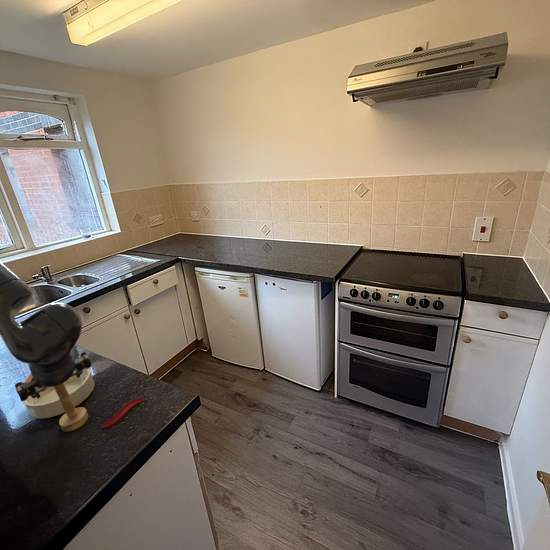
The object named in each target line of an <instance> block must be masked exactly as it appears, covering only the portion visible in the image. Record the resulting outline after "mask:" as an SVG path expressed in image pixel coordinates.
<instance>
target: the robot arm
mask: <svg viewBox="0 0 550 550" xmlns="http://www.w3.org/2000/svg"><path fill="white" fill-rule="evenodd" d="M33 297H34V291H33V290H32V288H31V287H30V286H29V285H28V284H27V283H26V282H25V281H23V280H22V279H21V278H20V277H19V276H17V275H16V274H15V273H14V272H13V271H12V270H10V269H9V268H8V267H7V266H6V265H4V263H2V262H1V261H0V337H1V338H2V341H3V342H4V344H5V346H6V348H7V350H8V351H9V352H10V354H11V355H12V357H14V358H15V359H16V360H17V361H19V362H20V363H24V364H28V367H29V370H30V374H32V376H33V378H32V379H31V381H30V382H27V383H25V381H24V382H22V381H18V382H17V383H15V384H14V387H15V390H16V394H17V395H18V397H19V400H20V401H21V402H23V401H25V400H26V399H28V396H31V397H32V398H36V397H37V399H38V398H40V397H41V396H40V394H39V393H40V392H43V391H45V390H46V389H47V388H48V387H53V386H58V385H60V384H62V383H64V382H66V381H67V380H68V379H69V378H70V377H73V376H75V375H76V377H77V378H79V377H80V375H81V374H82V373H83V369H85V368H86V369H88V368H89V369H90V368H91V367H92V361H91V359H90V357H89V356H88V353H87V352H86V351H84V352H81V353H80V355H79V356H78V358H76V355H75V352H74V350H73V348H75V346H76V344H77V342H78V340H79V339H80V337H81V334H82V331H83V321H82V317H81V316H80V314H79V312H78V311H77V310H76V309H75V308H74V307H73V306H71V305H69V304H67V303H64V302H54V303H50V304H47V305H45V306H43V307H42V308H40V309H39V310H38V311H36V312H35V313H33V314H32V315H30V316H28V317H27V318H26V319H24V320H22V321H21V322H17V321H16V317H17V316H18V314H19V313H20V312H21V311H22V310H23V309H25V307H26V306H27V305H29V303H30V302H31V300H32V299H33Z"/></svg>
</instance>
